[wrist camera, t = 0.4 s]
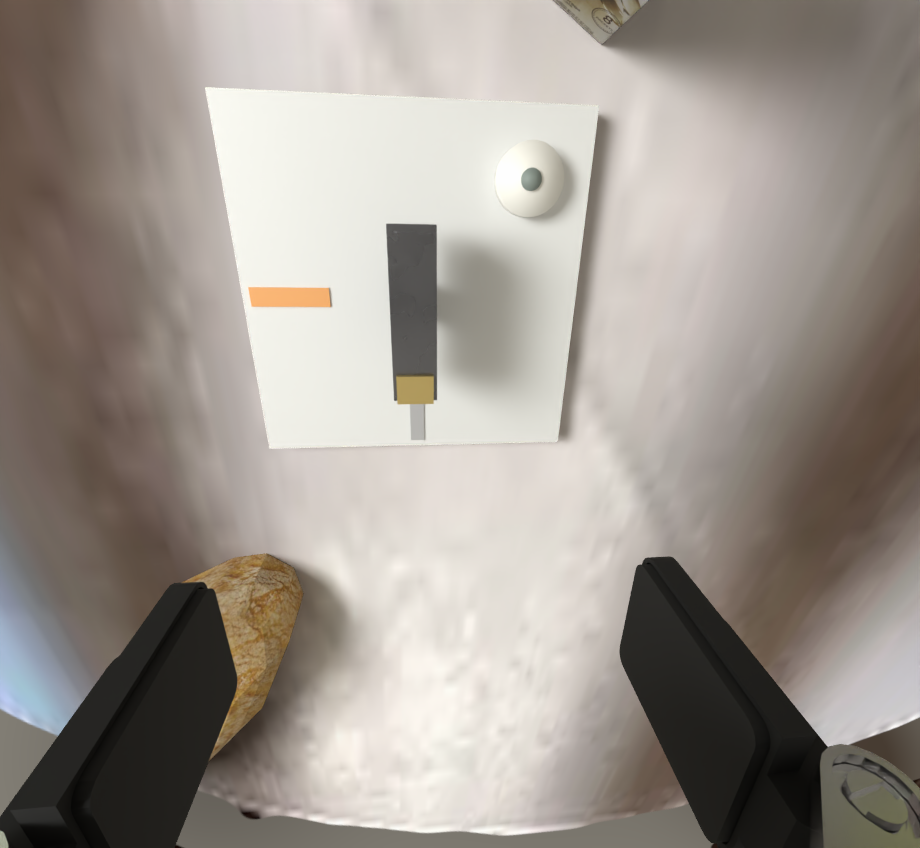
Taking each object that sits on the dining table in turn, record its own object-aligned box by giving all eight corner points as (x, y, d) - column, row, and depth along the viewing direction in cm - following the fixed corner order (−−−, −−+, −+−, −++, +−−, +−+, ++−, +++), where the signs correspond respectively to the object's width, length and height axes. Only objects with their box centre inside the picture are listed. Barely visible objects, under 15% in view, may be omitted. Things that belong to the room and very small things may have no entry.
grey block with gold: (393, 223, 27) (385, 223, 21) (432, 224, 28) (436, 224, 21) (398, 365, 31) (393, 404, 24) (433, 365, 31) (437, 403, 25)
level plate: (216, 94, 25) (193, 79, 23) (590, 111, 27) (608, 99, 25) (275, 439, 34) (263, 457, 32) (552, 433, 36) (562, 450, 34)
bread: (222, 527, 38) (160, 624, 29) (331, 585, 41) (307, 688, 32) (46, 747, 47) (-43, 873, 38) (148, 778, 51) (89, 900, 42)
